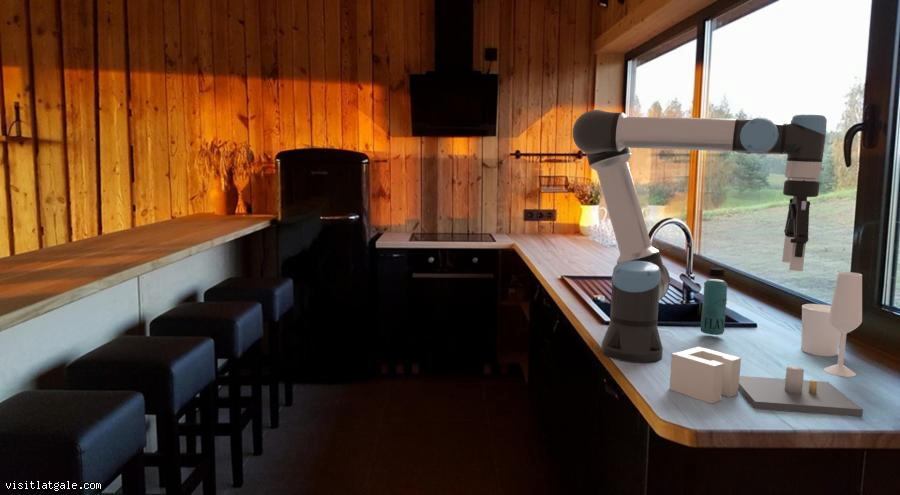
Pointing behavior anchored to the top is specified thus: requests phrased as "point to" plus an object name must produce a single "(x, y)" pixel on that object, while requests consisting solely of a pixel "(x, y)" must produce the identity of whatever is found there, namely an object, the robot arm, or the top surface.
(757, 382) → the base plate
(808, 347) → the candle holder
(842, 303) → the champagne flute
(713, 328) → the beverage bottle
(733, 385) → the beige notched hollow block
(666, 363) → the top surface
